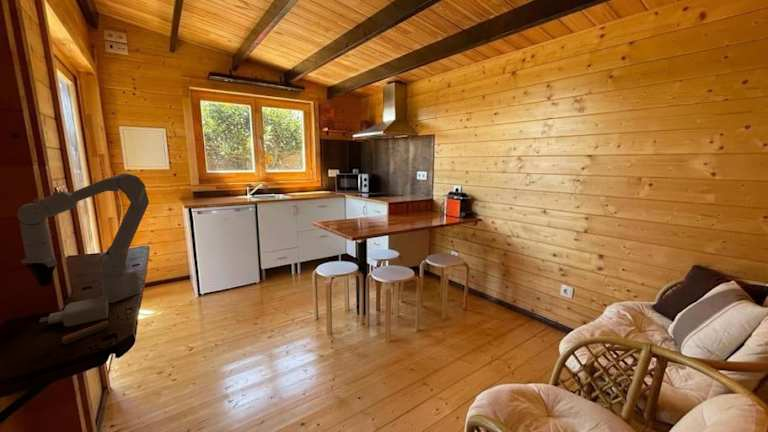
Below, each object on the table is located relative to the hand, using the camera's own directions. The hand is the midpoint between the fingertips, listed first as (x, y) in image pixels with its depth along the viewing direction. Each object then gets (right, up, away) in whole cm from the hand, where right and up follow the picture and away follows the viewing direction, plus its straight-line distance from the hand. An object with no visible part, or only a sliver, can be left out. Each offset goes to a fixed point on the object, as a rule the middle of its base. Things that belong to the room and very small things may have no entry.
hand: (45, 285), depth 100 cm
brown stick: (+22, -12, -10) cm, 27 cm away
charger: (+12, -11, -2) cm, 16 cm away
